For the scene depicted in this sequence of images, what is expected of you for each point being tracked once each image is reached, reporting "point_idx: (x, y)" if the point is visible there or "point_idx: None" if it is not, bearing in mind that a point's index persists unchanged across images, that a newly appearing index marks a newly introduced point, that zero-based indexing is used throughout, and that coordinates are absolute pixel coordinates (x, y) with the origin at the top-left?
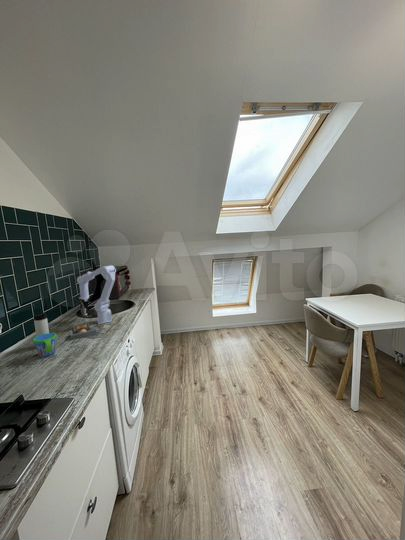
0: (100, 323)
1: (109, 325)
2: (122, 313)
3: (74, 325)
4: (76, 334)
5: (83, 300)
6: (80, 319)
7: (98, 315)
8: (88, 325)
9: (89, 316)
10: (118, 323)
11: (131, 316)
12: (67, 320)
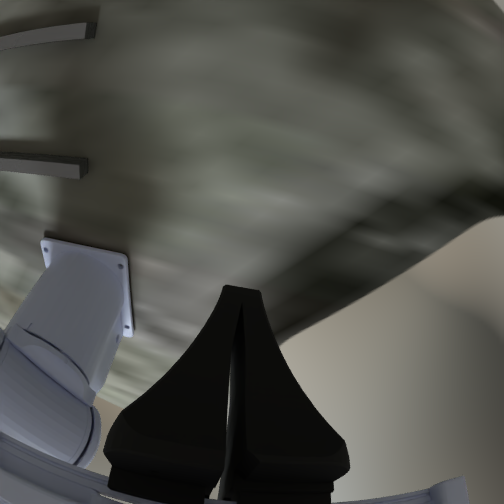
0: (43, 250)
1: (2, 275)
2: None
3: (83, 35)
4: None
5: (111, 463)
6: (346, 148)
7: (30, 297)
8: (10, 162)
9: (362, 251)
10: None
11: (108, 394)
12: (442, 38)
